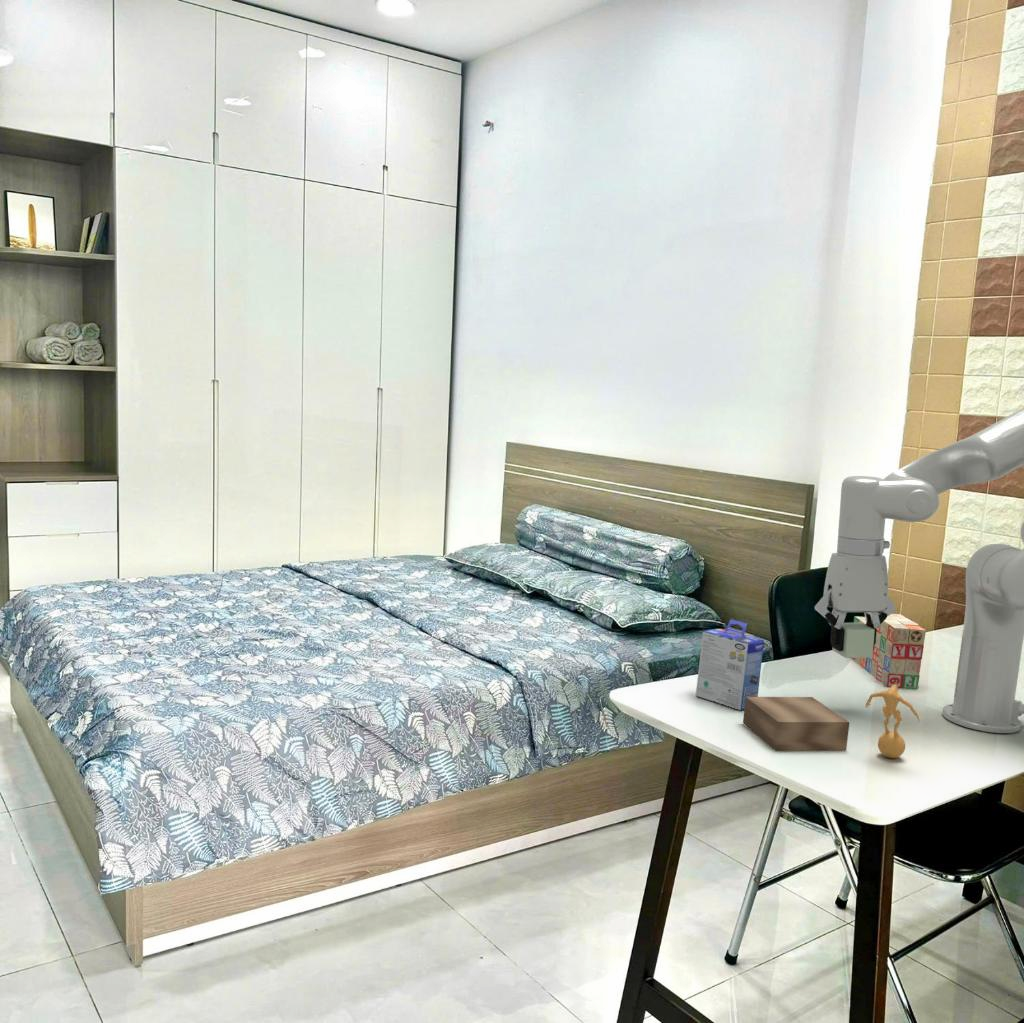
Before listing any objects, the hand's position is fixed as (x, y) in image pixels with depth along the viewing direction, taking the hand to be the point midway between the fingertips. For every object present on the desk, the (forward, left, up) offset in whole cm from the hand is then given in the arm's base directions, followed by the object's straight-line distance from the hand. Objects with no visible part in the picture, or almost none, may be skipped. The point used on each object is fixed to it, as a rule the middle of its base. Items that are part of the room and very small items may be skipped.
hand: (852, 647), depth 172 cm
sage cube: (0, 0, -1) cm, 1 cm away
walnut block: (+16, +14, -12) cm, 24 cm away
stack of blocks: (-20, -24, -12) cm, 33 cm away
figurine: (+4, +23, -12) cm, 26 cm away
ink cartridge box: (+21, -3, -12) cm, 24 cm away
